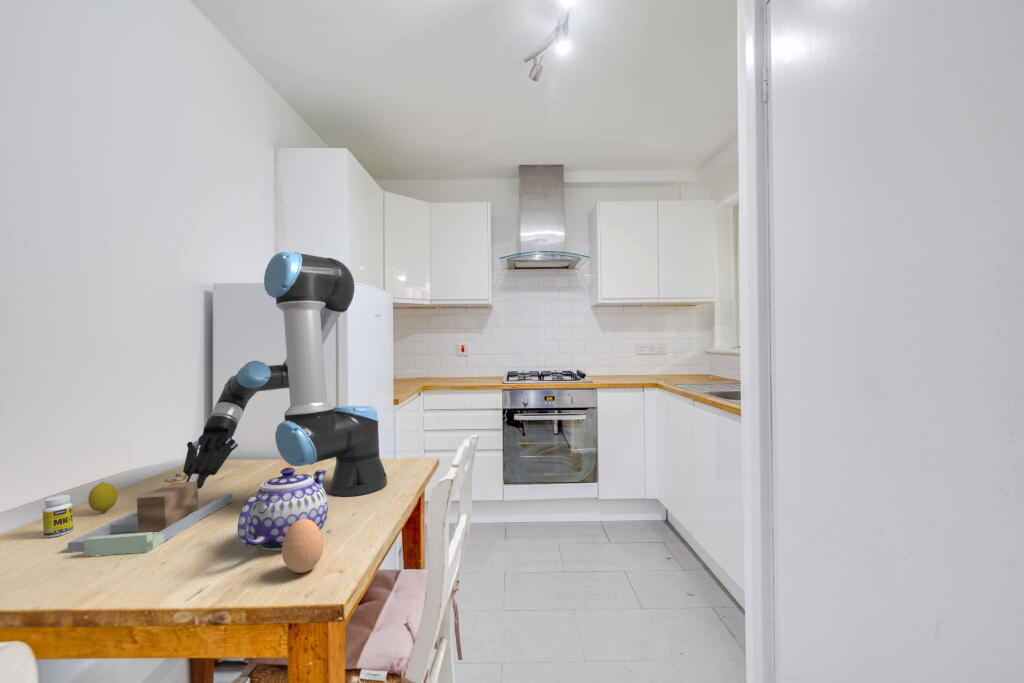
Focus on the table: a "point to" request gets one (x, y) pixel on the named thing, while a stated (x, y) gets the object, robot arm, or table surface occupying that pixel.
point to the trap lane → (121, 542)
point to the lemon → (102, 497)
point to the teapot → (282, 508)
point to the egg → (302, 546)
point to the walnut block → (166, 506)
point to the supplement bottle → (57, 516)
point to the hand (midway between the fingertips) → (186, 500)
